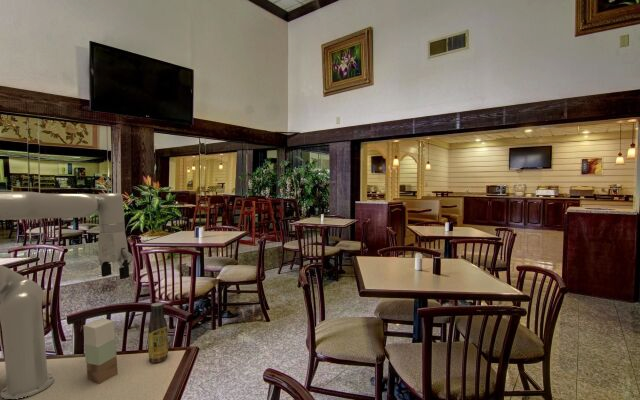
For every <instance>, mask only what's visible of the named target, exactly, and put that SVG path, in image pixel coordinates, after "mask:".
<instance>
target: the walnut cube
mask: <svg viewBox="0 0 640 400" xmlns="http://www.w3.org/2000/svg"><path fill="white" fill-rule="evenodd" d="M86 372H87V374H86V375H87V376H86V377H87V381H90V382H91V383H96V384H98V385H100V384H102V383H104V382H106V381H107V380H109V379H111V378H113V377H115V376H117V375H118V373H119V371H118V359H117V356H116V357H114V358H112V359H110V360H108V361H107V362H105V363H103V364H101V365H94V364H89V363H86Z"/></svg>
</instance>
